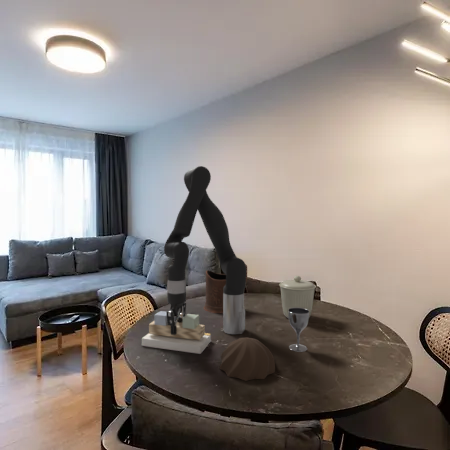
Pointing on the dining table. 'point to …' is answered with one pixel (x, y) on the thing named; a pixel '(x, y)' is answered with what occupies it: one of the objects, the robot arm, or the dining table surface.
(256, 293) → the dining table surface
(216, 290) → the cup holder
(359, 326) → the dining table surface
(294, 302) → the canister
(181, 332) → the pallet
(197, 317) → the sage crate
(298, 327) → the wine glass
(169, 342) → the dock
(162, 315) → the block
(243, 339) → the decorative dome
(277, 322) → the dining table surface
